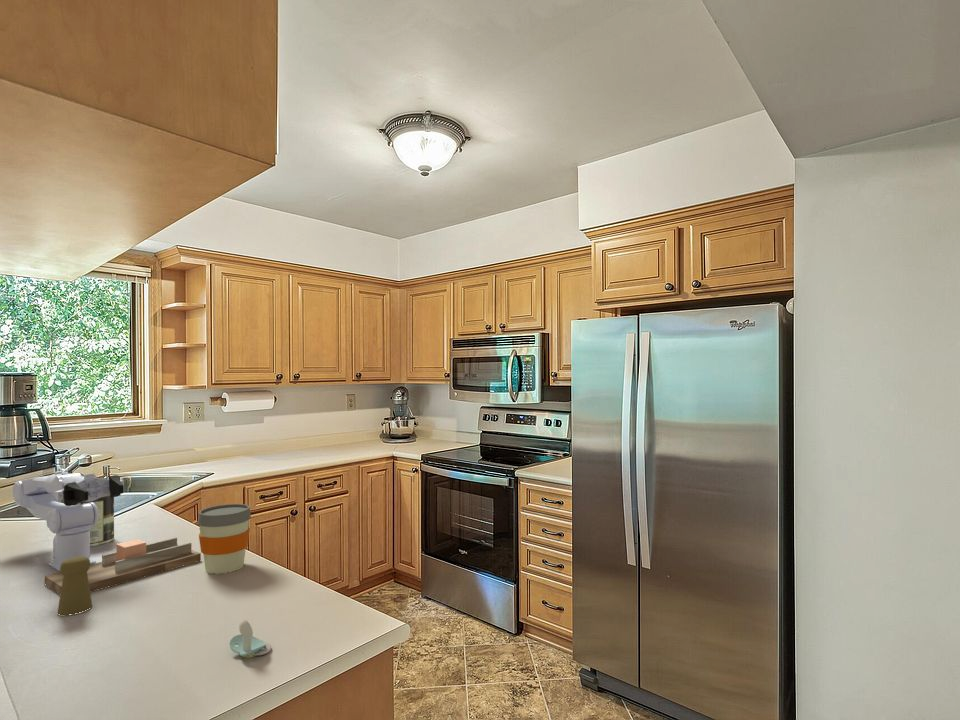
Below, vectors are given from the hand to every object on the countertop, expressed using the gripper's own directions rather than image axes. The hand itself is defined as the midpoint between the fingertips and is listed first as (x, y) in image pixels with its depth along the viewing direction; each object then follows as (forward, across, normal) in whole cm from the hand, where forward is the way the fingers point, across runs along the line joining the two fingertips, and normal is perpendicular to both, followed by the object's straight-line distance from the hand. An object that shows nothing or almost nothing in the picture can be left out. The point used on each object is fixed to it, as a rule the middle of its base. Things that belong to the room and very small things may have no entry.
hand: (104, 492), depth 134 cm
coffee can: (-39, +11, +21) cm, 45 cm away
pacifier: (+62, -1, +23) cm, 66 cm away
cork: (+14, -12, +22) cm, 28 cm away
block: (-2, +6, +20) cm, 20 cm away
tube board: (-2, +5, +22) cm, 22 cm away
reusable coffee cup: (+17, +20, +23) cm, 35 cm away
